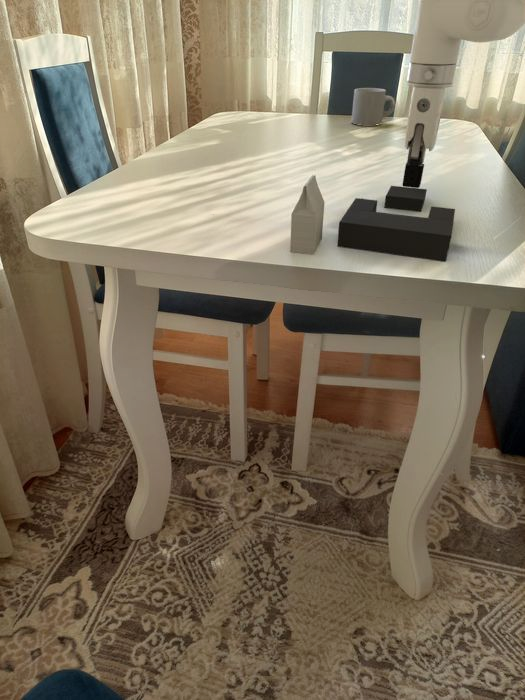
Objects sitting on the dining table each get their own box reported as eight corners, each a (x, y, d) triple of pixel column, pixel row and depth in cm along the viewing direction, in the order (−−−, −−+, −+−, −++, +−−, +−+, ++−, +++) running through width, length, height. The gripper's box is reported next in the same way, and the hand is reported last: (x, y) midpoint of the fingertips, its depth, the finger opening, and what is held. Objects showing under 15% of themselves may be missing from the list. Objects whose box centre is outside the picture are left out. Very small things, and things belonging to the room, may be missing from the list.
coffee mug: (350, 125, 160) (353, 91, 154) (351, 120, 168) (355, 87, 162) (392, 127, 158) (397, 92, 152) (391, 121, 166) (396, 88, 160)
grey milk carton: (321, 238, 80) (326, 175, 74) (313, 254, 75) (318, 188, 69) (299, 236, 81) (302, 173, 75) (290, 251, 76) (292, 185, 70)
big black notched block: (449, 232, 82) (455, 208, 80) (445, 261, 73) (451, 235, 70) (353, 220, 87) (355, 197, 85) (337, 246, 77) (339, 221, 75)
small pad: (422, 210, 91) (426, 189, 89) (419, 222, 86) (423, 199, 84) (387, 206, 93) (391, 185, 91) (382, 217, 88) (385, 195, 86)
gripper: (451, 81, 76) (428, 200, 86) (455, 72, 87) (434, 177, 98) (402, 79, 78) (385, 195, 88) (412, 70, 89) (396, 174, 100)
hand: (411, 185), depth 93 cm, fingers closed
